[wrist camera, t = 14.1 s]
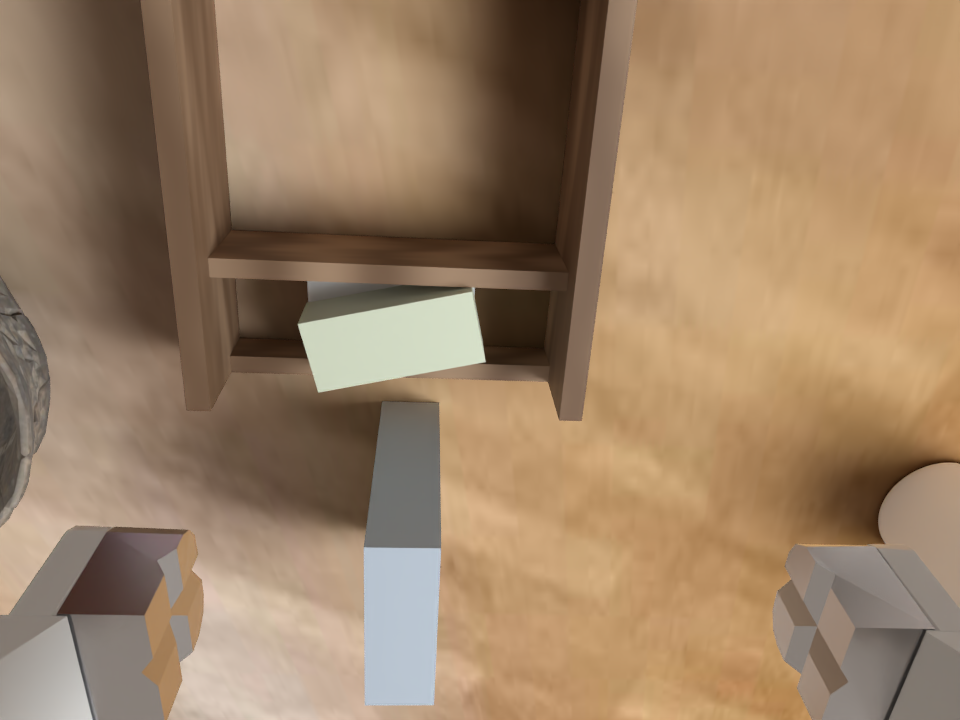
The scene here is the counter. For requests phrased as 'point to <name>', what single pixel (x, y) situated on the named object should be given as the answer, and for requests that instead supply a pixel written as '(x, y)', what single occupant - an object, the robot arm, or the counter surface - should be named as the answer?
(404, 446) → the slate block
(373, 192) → the counter surface
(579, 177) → the wooden tray
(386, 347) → the sage offcut
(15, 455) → the bowl
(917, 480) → the pill bottle
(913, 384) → the counter surface
